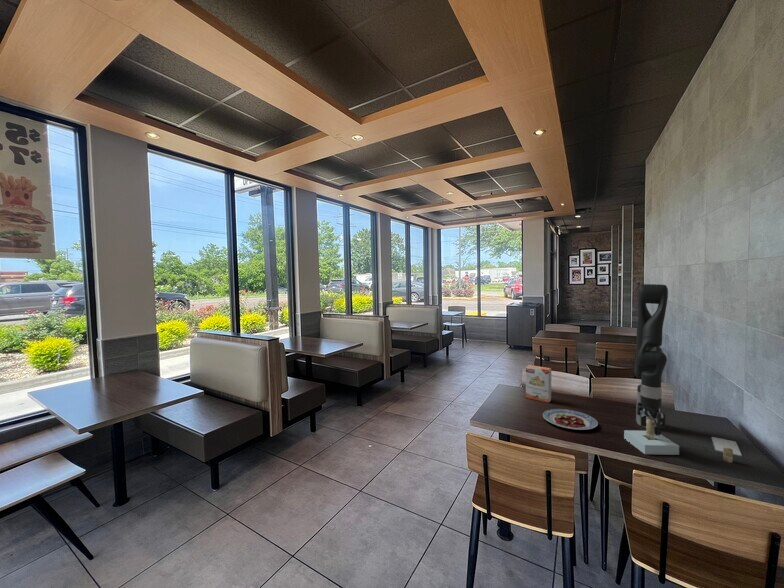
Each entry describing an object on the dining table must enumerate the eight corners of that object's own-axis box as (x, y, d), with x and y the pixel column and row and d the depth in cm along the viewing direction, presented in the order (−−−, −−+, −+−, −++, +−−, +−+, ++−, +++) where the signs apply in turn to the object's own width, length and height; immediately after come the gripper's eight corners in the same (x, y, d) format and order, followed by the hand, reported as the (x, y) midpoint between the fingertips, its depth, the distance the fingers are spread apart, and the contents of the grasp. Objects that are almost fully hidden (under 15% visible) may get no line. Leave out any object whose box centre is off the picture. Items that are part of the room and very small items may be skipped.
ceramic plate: (606, 435, 159) (606, 429, 159) (550, 431, 164) (550, 425, 164) (586, 414, 184) (586, 409, 184) (537, 411, 189) (537, 406, 189)
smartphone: (715, 449, 143) (711, 436, 155) (715, 452, 143) (711, 438, 155) (742, 456, 138) (736, 441, 149) (742, 458, 138) (736, 443, 149)
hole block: (624, 438, 155) (624, 430, 155) (655, 439, 154) (655, 430, 154) (644, 454, 141) (644, 445, 141) (679, 454, 140) (679, 445, 140)
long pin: (644, 444, 149) (644, 418, 149) (650, 444, 149) (651, 418, 149) (648, 447, 146) (649, 421, 146) (655, 447, 146) (655, 421, 146)
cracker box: (525, 398, 210) (525, 366, 209) (528, 395, 214) (528, 364, 214) (548, 403, 201) (548, 369, 200) (551, 400, 205) (551, 367, 204)
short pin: (721, 458, 137) (721, 447, 136) (728, 459, 136) (728, 447, 136) (727, 462, 134) (727, 450, 134) (734, 462, 134) (734, 450, 133)
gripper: (631, 389, 154) (631, 423, 155) (653, 400, 140) (653, 437, 141) (648, 389, 154) (647, 423, 154) (672, 401, 139) (671, 438, 140)
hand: (650, 430), depth 147 cm, fingers open, 8 cm apart
